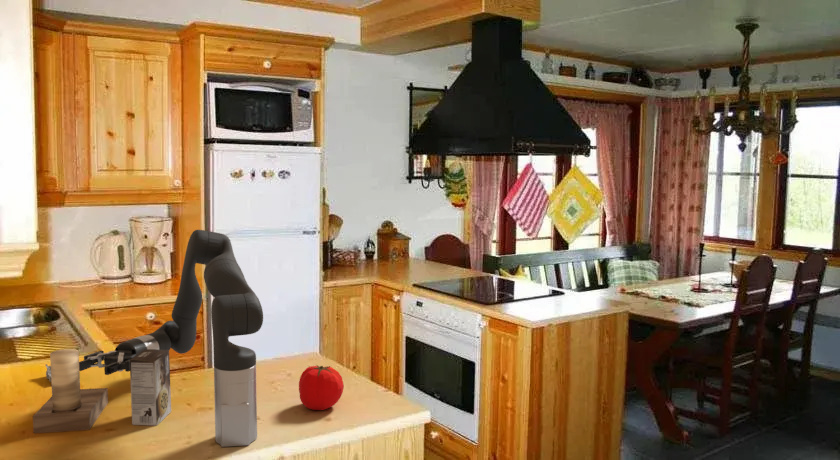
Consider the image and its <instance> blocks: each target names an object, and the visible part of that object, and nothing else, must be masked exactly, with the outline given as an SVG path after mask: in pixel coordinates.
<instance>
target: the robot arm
mask: <svg viewBox="0 0 840 460" xmlns="http://www.w3.org/2000/svg"><path fill="white" fill-rule="evenodd" d="M197 264H200V265H205V268H204V271H203V279H204V284H205V286H206V289H207V291H208V292H209V293H210V295H211V296H212V297H213V300H212V303H211V308H210V315H211V327H212V338H213V339H212V340H213V341H212V344H213V376H214V377H213V380H214V381H213V384H214V386H213V387H214V389H213V390H214V433H215V434H214V435H215V436H214V437H215V442H216V443H217V444H219V446H220V447H221V448H226V447H238V446H239V447H241V446H242V447H243V446H250V445H251V443H252V442H254V441H255V440H257V438H258V407H257V406H258V405H257V403H258V402H257V401H258V400H257V395H258V394H257V354H256V352H255V351H254V350H253V349H252V348H249V347H245V346H243V345H242V346H240V345H237V344H235V343H232V342H231V341H230V340H229V338H230V337H236V336H237V337H238V336H247V335H252V334H256V333H257V332H259V331H260V329H262V326H263V322H264V312H263V311H264V310H263V307H262V304H261V301H260V299H259V297H258V295H256V293H255V292H254V291H253V289H252V288H251V287H250V286H249V284H248V282H247V280H246V278H245V275H244V272H243V270H242V269H241V267H240V265H239V263H238V261H237V259H236V257H235V253H234V250H233V245H232V242H231V240H230V238H229V236H227V235H226V234H224V233H220V232H214V231H209V230H204V229H195V230H193V231H192V232H191V234H190V237H189V238H188V242H187V245H186V251H185V255H184V260H183V265H182V269H181V275H180V276H181V277H180V282H179V288H178V293H177V294H176V299H175V302H174V304H173V308H172V311H171V319H172V320H167V321H166V322H164V323H163V324H162V325H161V326H159V328H157V329H156V330H155V331H153V332H151V333H147V334H145V335H139V336H136V337H133V338H131V339H128V340H125V341H123V342H120V343H119V344H118V345H116V346H115V347H116V348H115V349H114V350H110V351H108V352H104V350H99V351H95V352H92V353H90V354H86V355H84V356H83V360H81V361H79V372H82V371H84V370H87V369H90V368H96V367H97V368H99V369H102V368H104V375H105V376H109V375H112V374H114V373H116V372H123V371H124V370H125V372H127V373H128V372H130V360H131V359H132V358H133V357H135V356H136V355H138V354H139V353H140V352H142V351H143V350H145V349H156V350H169V351H170V350H171V349H172V350H173V351H174V352H176V353H177V354H186V353H189V351H191V350H192V348H193V347H194V346H195V343H196V341H197V318H198V316H199V313H200V310H201V308H202V307H201V306H202V304H203V292H202V290H201V286H200V284H199V281H198V278H197V275H196V265H197ZM102 362H104V363H102Z"/></svg>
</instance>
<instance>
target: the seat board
mask: <svg viewBox="0 0 840 460" xmlns="http://www.w3.org/2000/svg"><path fill="white" fill-rule="evenodd" d="M108 391H109V390H108V387H101V388H100V387H99V388H84V389H83V388H80V395H81V407H80V408H79V409H77V410H76V411H72V412H54V411H53V409H52V407H53V404H52V396H51V397H49V399H47V400H46V402H45V403H44V404H43V405H42V406H41V407H40V408H39V410H37V411H36V413H34V415H32V425H33V426H32V427H33V434H40V433H41V434H42V433H57V432H61V433H62V432H73V431H76V432H77V431H89V430H90V429H91V428H92V427H93V425H94V424H95V423H96V421H97V420H98V418H99V417H100V416H101V414H102V412H104V409H105V408H106V406H107V405H108V404H109V397H108V396H109V392H108Z"/></svg>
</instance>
